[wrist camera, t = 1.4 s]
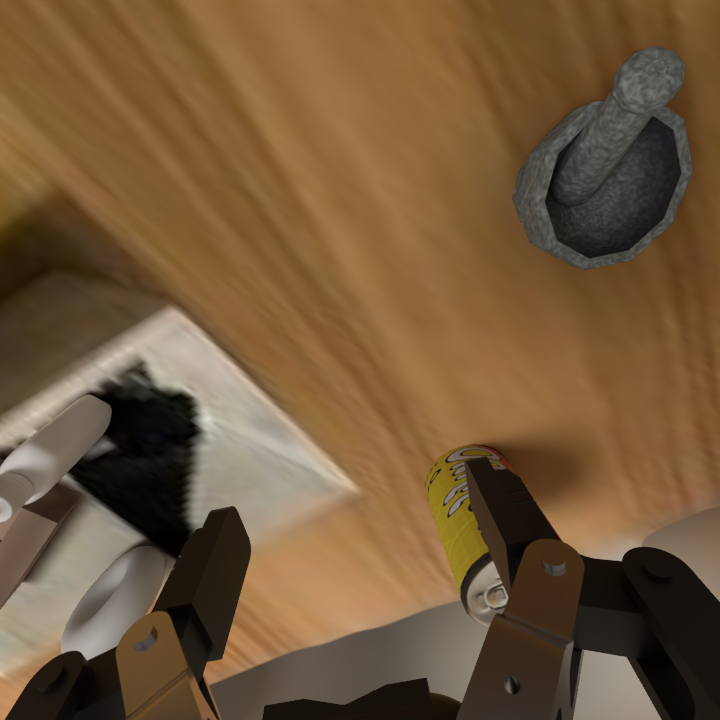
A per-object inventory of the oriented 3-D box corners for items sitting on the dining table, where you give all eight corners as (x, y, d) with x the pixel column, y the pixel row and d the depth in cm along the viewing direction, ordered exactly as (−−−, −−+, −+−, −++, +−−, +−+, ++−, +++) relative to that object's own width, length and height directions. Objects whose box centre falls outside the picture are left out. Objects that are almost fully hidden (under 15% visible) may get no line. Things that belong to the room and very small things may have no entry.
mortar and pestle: (625, 218, 31) (790, 228, 20) (517, 276, 32) (616, 317, 21) (588, 67, 27) (770, -26, 16) (465, 140, 28) (555, 101, 17)
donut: (120, 586, 42) (61, 695, 33) (93, 568, 41) (25, 677, 31) (187, 540, 40) (145, 641, 31) (162, 520, 39) (110, 620, 30)
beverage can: (523, 491, 41) (594, 598, 30) (446, 527, 42) (489, 644, 31) (491, 429, 38) (558, 524, 27) (409, 471, 39) (442, 578, 28)
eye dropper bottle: (43, 411, 33) (-98, 516, 22) (100, 387, 33) (-15, 482, 22) (76, 450, 35) (-40, 565, 24) (130, 428, 35) (38, 534, 24)
